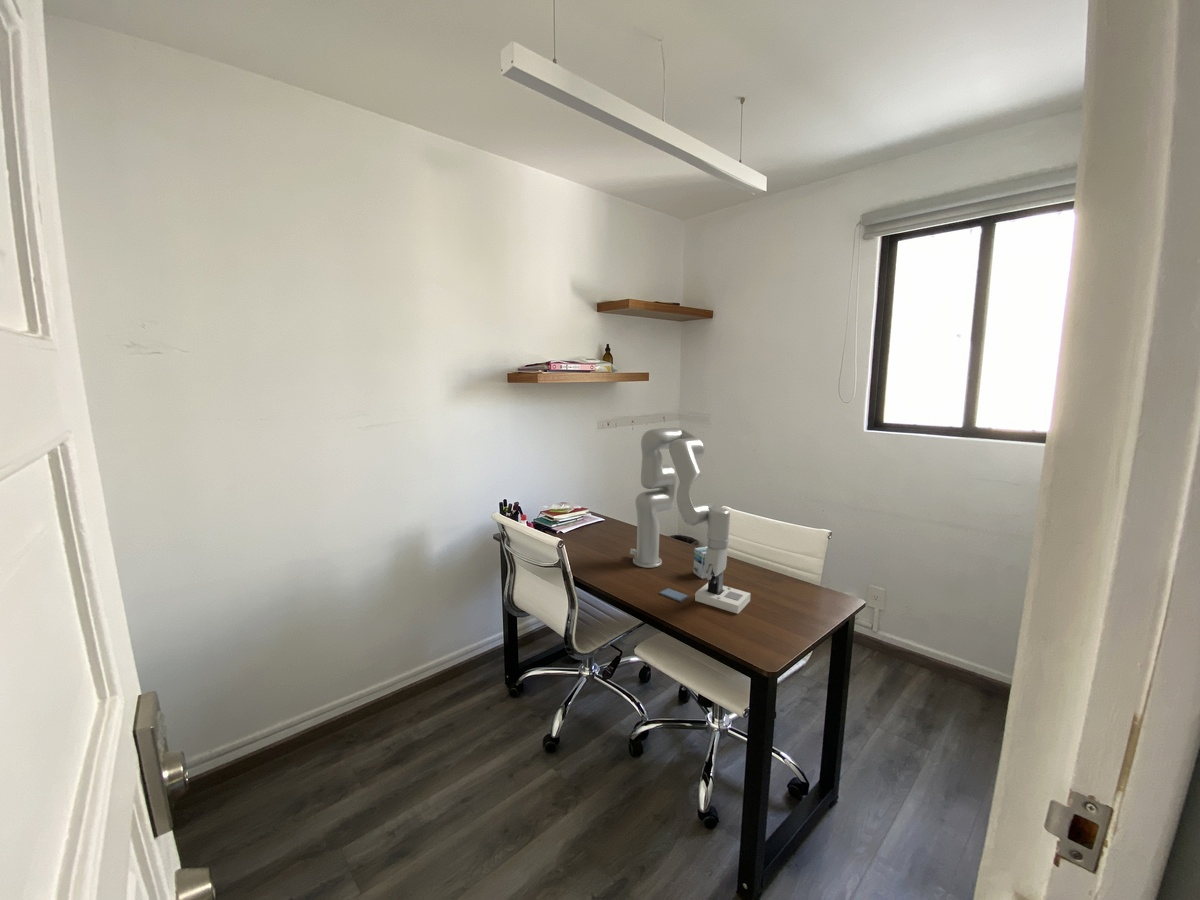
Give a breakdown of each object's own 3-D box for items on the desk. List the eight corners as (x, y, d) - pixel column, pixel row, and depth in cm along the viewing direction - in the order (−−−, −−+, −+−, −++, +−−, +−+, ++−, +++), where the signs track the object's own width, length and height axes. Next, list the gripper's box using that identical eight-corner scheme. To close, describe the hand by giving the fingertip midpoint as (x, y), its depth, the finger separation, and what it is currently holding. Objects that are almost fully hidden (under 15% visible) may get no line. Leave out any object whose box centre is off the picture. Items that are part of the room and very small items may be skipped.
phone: (658, 595, 178) (658, 592, 178) (667, 590, 183) (667, 587, 182) (680, 603, 171) (680, 601, 171) (689, 598, 176) (689, 595, 176)
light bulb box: (701, 579, 191) (703, 553, 190) (692, 572, 197) (693, 547, 196) (723, 575, 195) (725, 550, 194) (714, 569, 201) (715, 544, 200)
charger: (707, 592, 174) (708, 574, 173) (712, 588, 177) (713, 570, 176) (718, 595, 172) (719, 576, 171) (722, 591, 175) (723, 573, 174)
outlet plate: (694, 600, 173) (695, 592, 172) (708, 588, 183) (709, 581, 182) (737, 613, 164) (738, 605, 163) (750, 601, 173) (750, 592, 173)
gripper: (717, 534, 180) (714, 580, 183) (697, 546, 167) (695, 595, 170) (736, 538, 176) (733, 585, 179) (718, 551, 163) (715, 602, 166)
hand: (715, 590), depth 174 cm, fingers closed on charger, 4 cm apart
